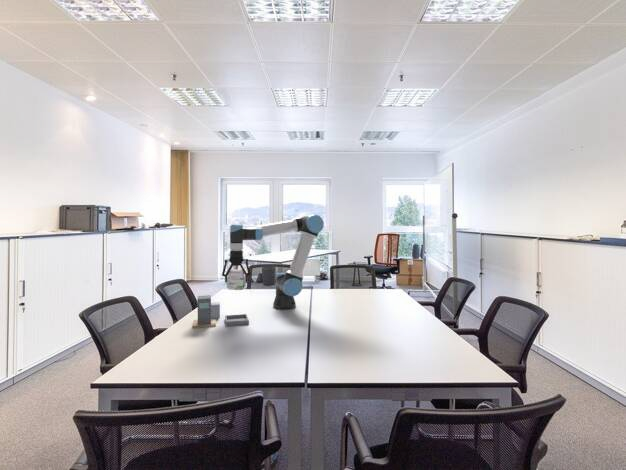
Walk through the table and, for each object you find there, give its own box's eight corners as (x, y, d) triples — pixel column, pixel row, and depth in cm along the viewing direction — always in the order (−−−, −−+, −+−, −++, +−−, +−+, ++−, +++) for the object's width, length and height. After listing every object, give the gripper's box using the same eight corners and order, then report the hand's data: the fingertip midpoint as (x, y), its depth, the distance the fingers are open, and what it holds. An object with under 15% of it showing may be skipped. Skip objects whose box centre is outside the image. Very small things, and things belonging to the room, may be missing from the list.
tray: (246, 317, 202) (246, 313, 202) (248, 324, 189) (248, 320, 189) (225, 319, 199) (225, 315, 199) (226, 326, 186) (225, 322, 186)
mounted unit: (215, 320, 197) (215, 294, 197) (215, 326, 186) (215, 298, 185) (193, 321, 194) (193, 295, 193) (192, 328, 182) (192, 300, 182)
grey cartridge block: (219, 315, 209) (219, 302, 208) (219, 317, 203) (219, 304, 203) (211, 315, 207) (211, 302, 207) (211, 318, 202) (211, 305, 201)
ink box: (244, 288, 206) (244, 269, 206) (241, 290, 201) (242, 270, 201) (230, 288, 207) (230, 268, 207) (227, 289, 202) (228, 270, 202)
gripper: (254, 249, 210) (254, 285, 210) (217, 249, 204) (217, 286, 205) (255, 250, 202) (255, 287, 203) (217, 250, 197) (217, 289, 198)
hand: (236, 287), depth 204 cm, fingers closed on ink box, 9 cm apart
